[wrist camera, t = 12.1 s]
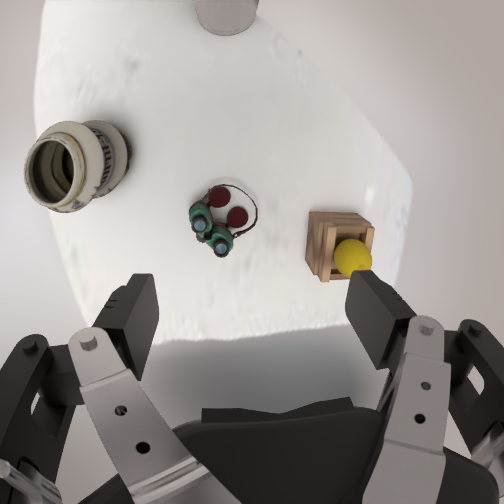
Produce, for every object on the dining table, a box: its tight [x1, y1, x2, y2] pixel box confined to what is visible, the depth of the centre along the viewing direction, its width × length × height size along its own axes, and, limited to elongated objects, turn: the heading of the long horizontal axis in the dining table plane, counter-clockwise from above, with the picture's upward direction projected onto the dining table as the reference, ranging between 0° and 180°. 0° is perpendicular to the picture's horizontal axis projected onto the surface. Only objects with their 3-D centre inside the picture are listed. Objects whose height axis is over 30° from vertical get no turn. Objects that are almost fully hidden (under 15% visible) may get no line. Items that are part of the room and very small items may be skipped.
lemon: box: [334, 239, 372, 278], centre depth 40 cm, size 6×6×8 cm
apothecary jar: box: [24, 120, 132, 213], centre depth 33 cm, size 12×12×18 cm
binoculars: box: [189, 184, 258, 258], centre depth 42 cm, size 9×11×10 cm
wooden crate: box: [305, 212, 375, 282], centre depth 46 cm, size 9×9×8 cm
